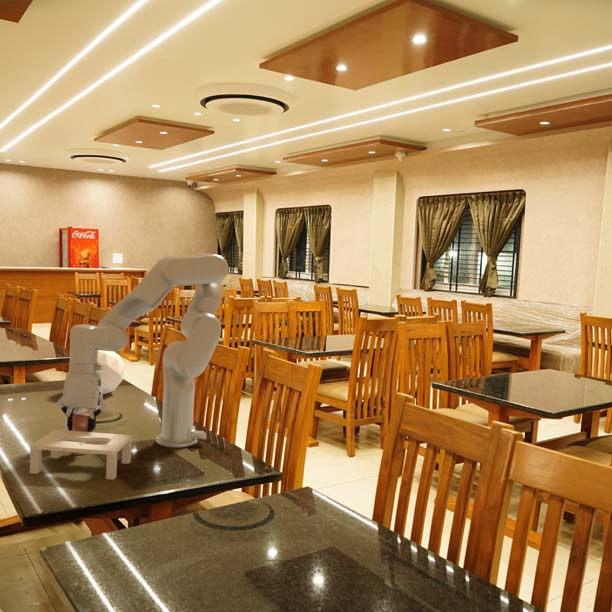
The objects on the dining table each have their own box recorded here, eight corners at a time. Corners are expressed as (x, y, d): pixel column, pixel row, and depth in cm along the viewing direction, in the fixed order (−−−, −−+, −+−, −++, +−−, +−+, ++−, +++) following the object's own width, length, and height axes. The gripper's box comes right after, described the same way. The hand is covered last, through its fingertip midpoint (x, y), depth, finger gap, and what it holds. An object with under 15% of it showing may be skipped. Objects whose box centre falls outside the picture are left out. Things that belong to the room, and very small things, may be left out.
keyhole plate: (131, 461, 171) (132, 435, 170) (113, 479, 157) (114, 451, 156) (53, 455, 171) (54, 429, 171) (29, 473, 157) (30, 445, 157)
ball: (100, 406, 250) (120, 364, 260) (118, 400, 235) (139, 355, 245) (57, 386, 242) (80, 343, 252) (74, 377, 227) (97, 332, 237)
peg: (92, 450, 178) (93, 413, 177) (85, 456, 173) (87, 418, 172) (75, 449, 178) (76, 412, 177) (68, 454, 173) (69, 416, 172)
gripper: (117, 367, 177) (115, 428, 178) (59, 363, 177) (57, 424, 179) (108, 372, 169) (105, 436, 171) (47, 368, 170) (46, 432, 171)
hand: (81, 429), depth 175 cm, fingers closed on peg, 5 cm apart
